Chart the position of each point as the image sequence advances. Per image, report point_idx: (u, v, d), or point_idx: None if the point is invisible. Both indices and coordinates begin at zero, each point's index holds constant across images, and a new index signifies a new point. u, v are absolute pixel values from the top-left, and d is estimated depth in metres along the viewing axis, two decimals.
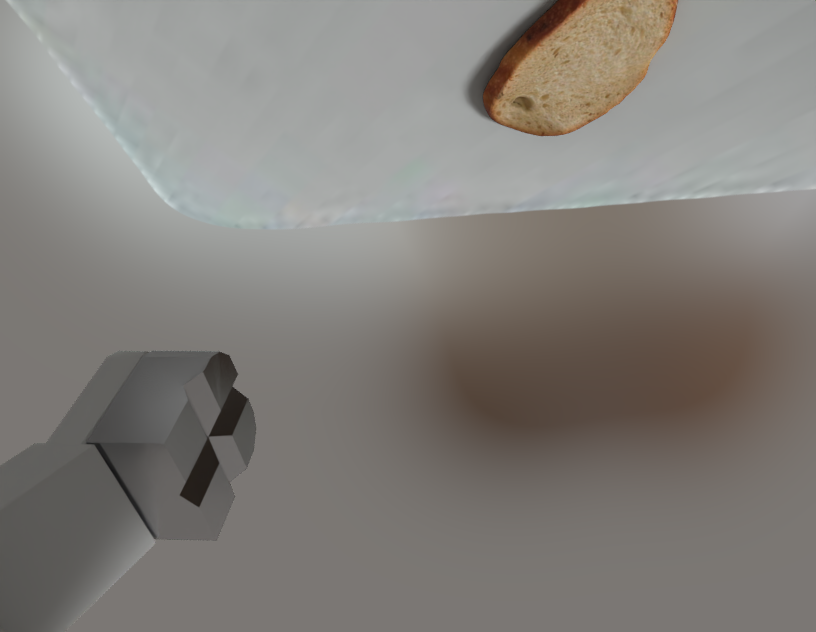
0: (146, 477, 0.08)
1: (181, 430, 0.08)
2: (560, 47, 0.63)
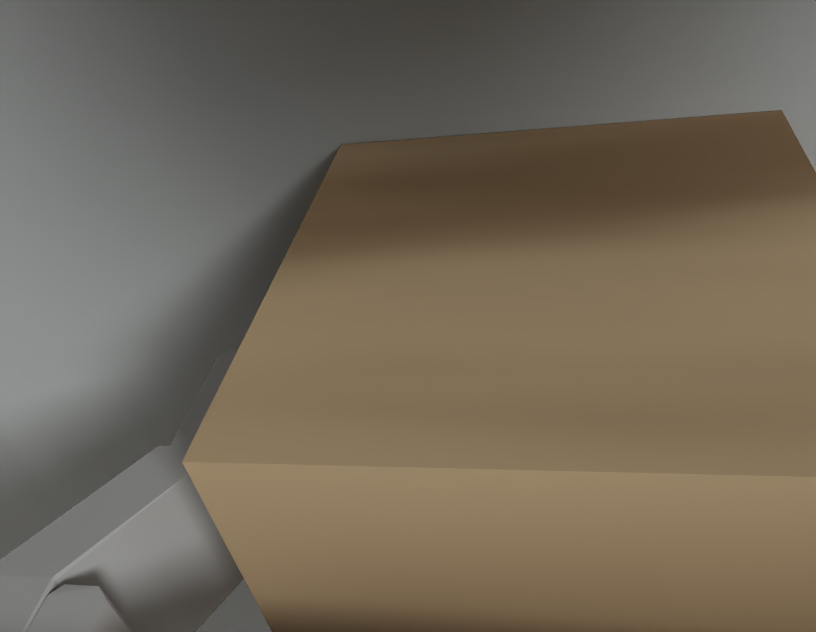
0: None
1: None
2: None
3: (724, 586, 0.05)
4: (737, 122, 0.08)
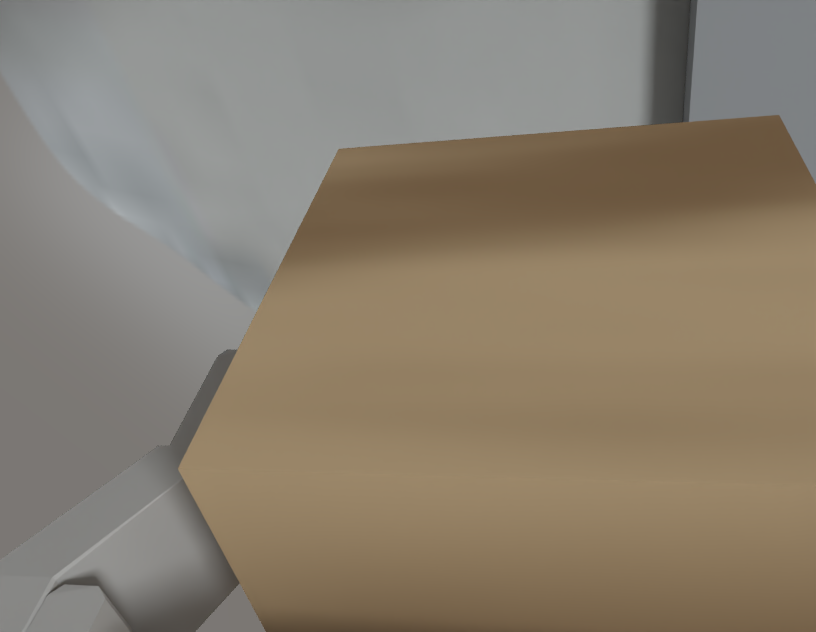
0: None
1: None
2: None
3: (720, 593, 0.05)
4: (735, 128, 0.08)
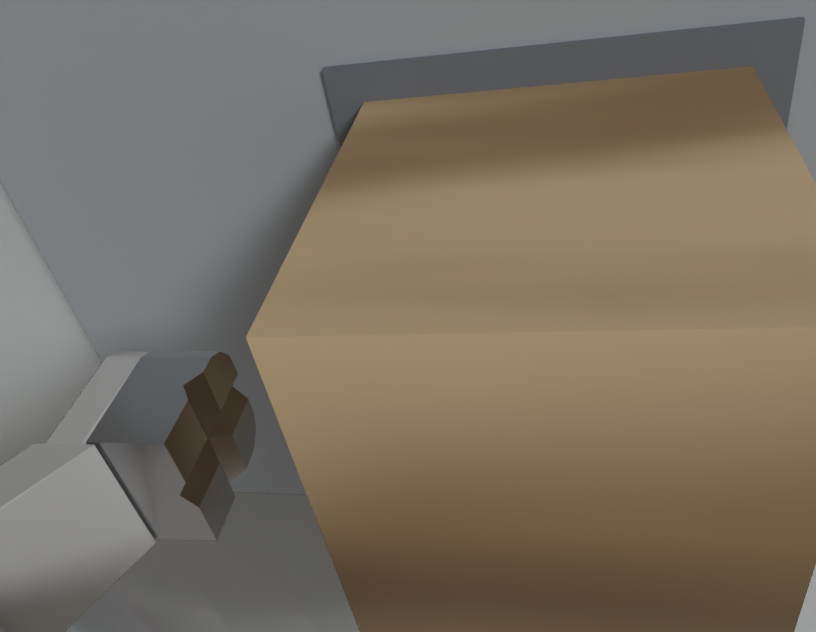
0: (146, 477, 0.08)
1: (181, 430, 0.08)
2: None
3: (693, 437, 0.06)
4: (714, 77, 0.09)
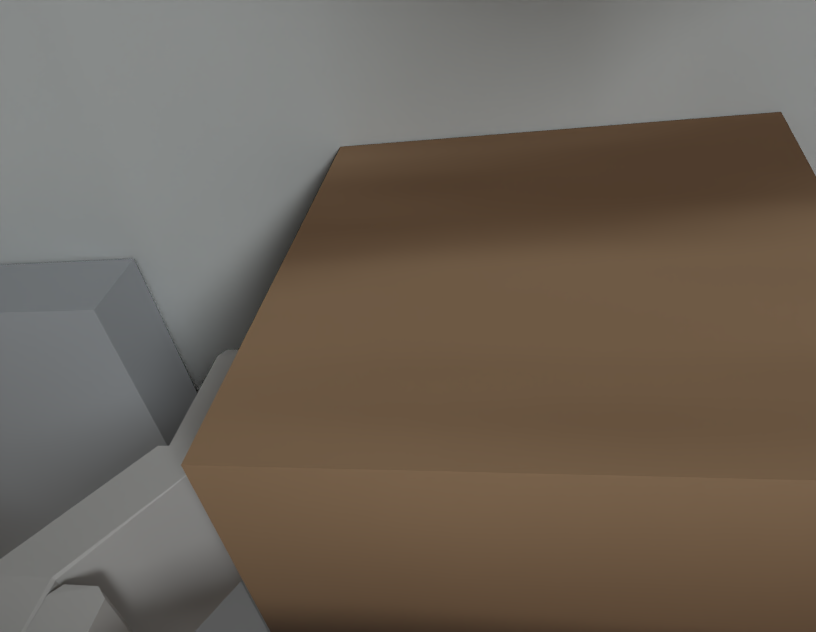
0: None
1: None
2: None
3: None
4: None
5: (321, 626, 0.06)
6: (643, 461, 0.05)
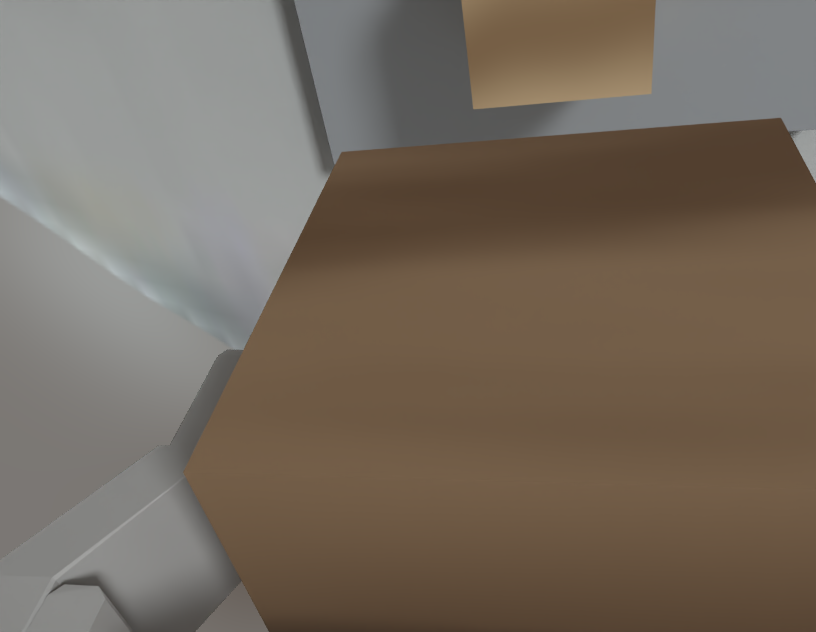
0: None
1: None
2: None
3: None
4: None
5: (322, 631, 0.07)
6: (642, 468, 0.05)
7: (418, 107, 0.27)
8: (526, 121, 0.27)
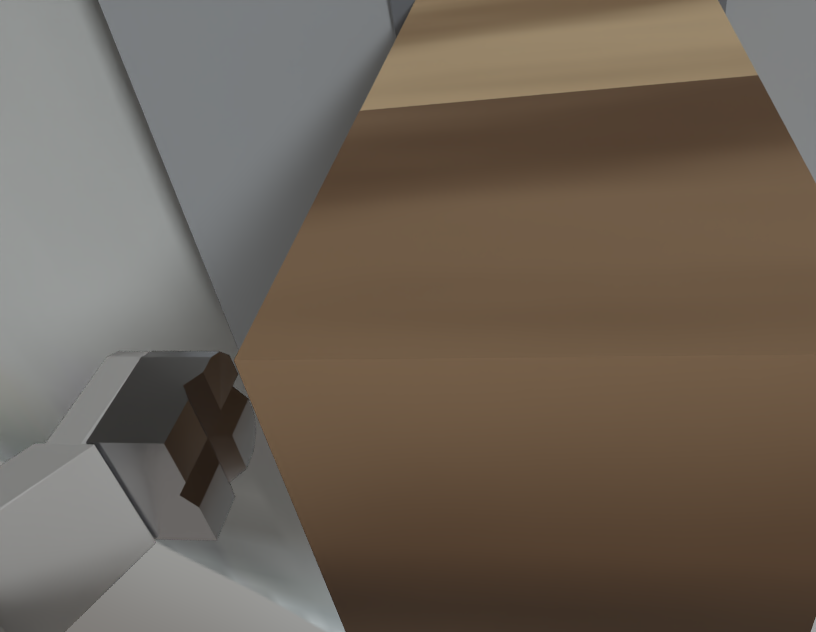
0: (146, 477, 0.08)
1: (181, 430, 0.08)
2: None
3: None
4: None
5: (348, 520, 0.07)
6: (627, 345, 0.06)
7: None
8: None
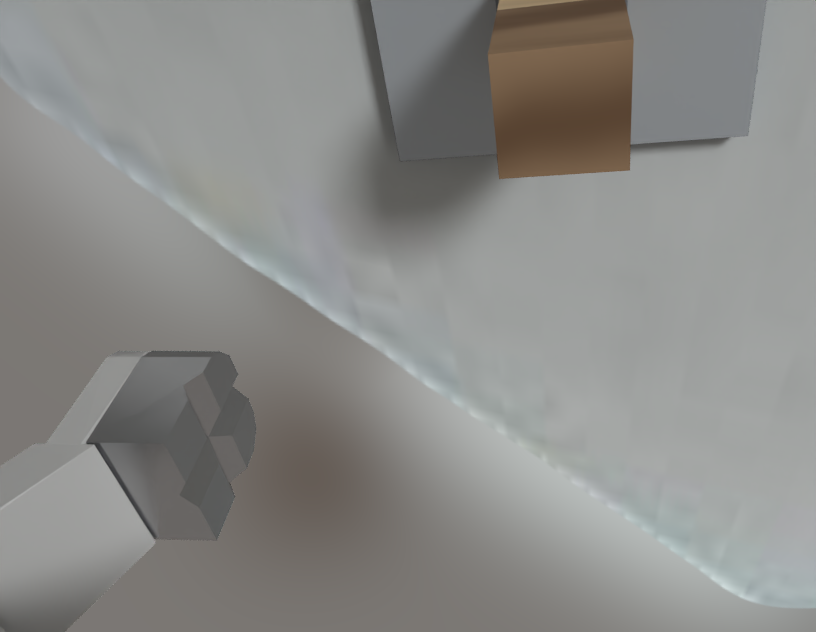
0: (146, 477, 0.08)
1: (181, 430, 0.08)
2: None
3: None
4: None
5: (507, 111, 0.27)
6: (578, 43, 0.26)
7: (462, 120, 0.39)
8: None
